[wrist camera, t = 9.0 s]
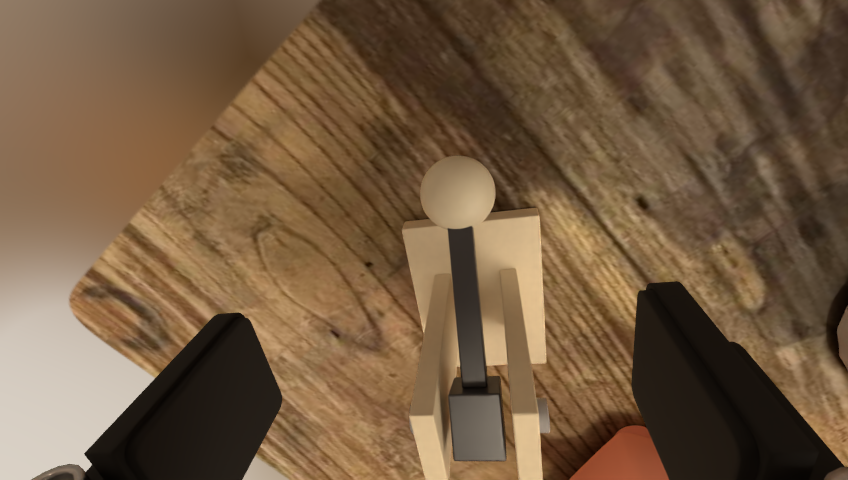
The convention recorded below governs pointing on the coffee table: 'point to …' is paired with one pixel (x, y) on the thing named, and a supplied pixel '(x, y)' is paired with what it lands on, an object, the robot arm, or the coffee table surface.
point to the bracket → (502, 327)
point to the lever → (467, 305)
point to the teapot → (625, 458)
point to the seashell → (843, 338)
